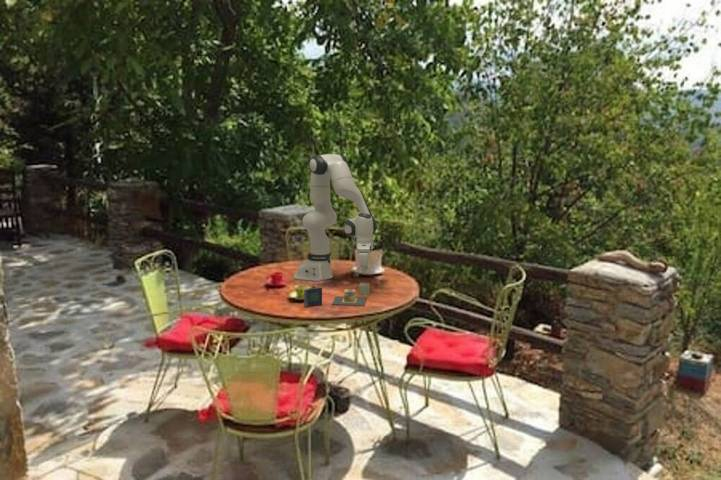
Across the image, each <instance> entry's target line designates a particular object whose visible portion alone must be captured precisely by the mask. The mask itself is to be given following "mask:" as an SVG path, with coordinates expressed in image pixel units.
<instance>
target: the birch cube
mask: <svg viewBox="0 0 721 480" xmlns="http://www.w3.org/2000/svg"><path fill="white" fill-rule="evenodd" d="M343 296H344V302H354V301H355V297H356V289H354V288H353V289H350V288H349V289H348V288H345V289H344V291H343Z"/></svg>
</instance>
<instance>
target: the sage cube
mask: <svg viewBox="0 0 721 480" xmlns="http://www.w3.org/2000/svg"><path fill="white" fill-rule="evenodd" d="M370 293H371V292H370V282H369V283H368V282H367V283H366V282H359V284H358V295H359V296H361V295H362V296H369V295H370Z"/></svg>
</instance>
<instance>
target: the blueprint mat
mask: <svg viewBox="0 0 721 480" xmlns="http://www.w3.org/2000/svg"><path fill="white" fill-rule="evenodd" d="M367 298H368V297H367V296H366V297H365V296H355V301H354V302H344V295H343V296H342V295H341V296H339V295H338V296H337V295H336V296H335V297H334V299H333V301H332V303H331V306H341V305H342V306H345V307H347V306H348V307H349V306H350V307H365V306H366V303H367Z"/></svg>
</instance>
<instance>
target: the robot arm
mask: <svg viewBox="0 0 721 480" xmlns="http://www.w3.org/2000/svg"><path fill="white" fill-rule="evenodd" d="M348 163H349V162H348V159H347V157H346V156H345V155H344V154H341V153H326V154H317V155H313V156H311V158H310V159H309V163H308V165H309V166H308V167H309V170H310V171H311V173H310V180H309V181H310V182H309V187H310V188H309V197H310V201H311V202H312V203H313V205H314V210H313V211H309V212H308V213H306V214H305V215H304V216H303V218H302V221H301V223H302V225H303V228H304V229H305V230H306V231H307V234H308V236H309V240H310V243H309V244H310V251H308V252H307V254H306V260H305V261H303V262H302V263H300V265H299V266H298V267H297V272H295V273H294V275H293V279H294V280H301V281H302V280H304V281H315V282H320V281H325V280H330V279H332V278H333V277H334V275H333V271H332V266H331V262H332V255H331V240H330V237H328V235H327V233H326V229H327V228H330V227H332V226H333V225H334V224H335V223H336V222H337V219H338V216H337V215H338V214H337V213H336V211H335V210H334V208H333V206H332V202H331V184H332V188H333V190H334V193H335V194H336V195H337V196H338V197H340V198H342V199H346V200H349V201H351V202H353V203H355V205H356V207H357V209H358V212H359V213H357V215H356V216H355V217H352V218H349V219H347V220H346V221H345V222H344V224H343V232H344V233H345V235H346V236H347V237H349V238H350V237H351V238H354V237H356V238H355V241H356V242H355V248H356V252H357V253H358V254H357V255H358V263H359V267H360V268H361V271H362V272H361V273H362V275H366V274H367V270H368V267H369V266H368V265H369V261H370V257H371V252H372V250H373V249H374V236H373V235H375V233H376V231H377V228H378V223H377V221H376V219H375V217H374V216H373V214H372V211H371V210H370V207H369V205H368V202H367V200H366V197H365V196H364V193H363V192H362V190H361V189H360V188H359V187H358V186H357V185H356V183H355V181H354V178H353V175H352V172H351V169H350V167H349V164H348Z"/></svg>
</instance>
